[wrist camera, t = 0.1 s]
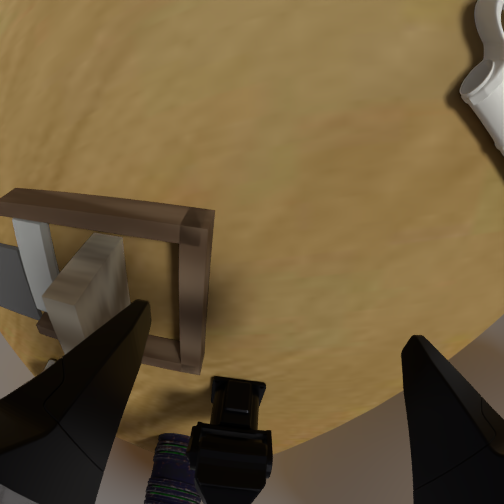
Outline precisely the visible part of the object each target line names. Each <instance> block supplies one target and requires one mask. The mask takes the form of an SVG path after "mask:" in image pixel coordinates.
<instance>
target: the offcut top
mask: <svg viewBox="0 0 504 504" xmlns="http://www.w3.org/2000/svg"><path fill="white" fill-rule="evenodd" d="M12 221H13V226H14V230H15V235H16V239H17V243H18V247H19V251H20V255H21V259H22V263H23V266H24V270H25V273H26V276H27V280H28V283H29V286H30V289H31V292H32V295H33V298H34V301H35V304H36V307H37V309H39V310H42V311H45V312H47V310H46V307H45V305H44V302H43V299H42V295H43V294H44V293H45V291H46V290H47V289H48V287H49V286H50V285H51V283H52V282H53V281H54V280H55V278H56V277H57V276H58V275H57V271H56V266H55V262H54V257H53V253H52V248H51V243H50V237H49V232H48V226H47V223H44V222H37V221H31V220H25V219H18V218H13V219H12Z"/></svg>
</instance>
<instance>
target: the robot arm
mask: <svg viewBox="0 0 504 504" xmlns="http://www.w3.org/2000/svg"><path fill="white" fill-rule="evenodd" d="M150 326H151V312H150V304H149V302H148V301H144V300H139V299H137V300H135V301H134V302H132V303H131V304H130V305H128V306H127V307H126V308H124V309H123V310H122V311H120V312H119V313H118V314H117V315H115V316H114V317H113V318H111V319H110V320H109V321H107V322H106V323H105V324H104V325H102V326H101V327H100V328H98V329H97V330H96V331H94V332H93V333H92V334H91V335H89V336H88V337H87V338H85V339H84V340H83V341H82V342H80V343H79V344H78V345H77V346H75V347H74V348H73V349H71V350H70V351H69V352H68V353H66V354H65V355H64V356H63V357H62V358H63V359H62V358H60V359H59V360H57V361H56V362H55V363H54V364H52V365H51V366H50V367H48V368H47V369H46V370H45V371H43V372H42V373H40V374H39V375H37V376H36V377H34V378H33V379H32V380H30V381H28V382H27V383H25V384H24V385H22V386H21V387H19V388H18V389H16V390H14V391H13V392H11V393H10V394H8V395H7V396H5V397H3V398H2V399H0V504H95V501H96V497H97V494H98V490H99V487H100V483H101V480H102V476H103V472H104V470H105V467H106V463H107V460H108V457H109V454H110V451H111V448H112V444H113V442H114V439H115V436H116V433H117V430H118V427H119V424H120V421H121V418H122V415H123V412H124V409H125V407H126V404H127V401H128V398H129V395H130V393H131V390H132V387H133V385H134V382H135V379H136V376H137V374H138V371H139V368H140V365H141V361H142V358H143V354H144V350H145V346H146V342H147V338H148V334H149V330H150ZM401 359H402V373H403V389H404V398H405V405H406V412H407V420H408V428H409V437H410V448H411V459H412V473H413V490H414V491H413V499H414V504H504V419H503V418H502V417H501V416H500V415H499V414H498V413H497V412H496V411H495V410H494V409H492V407H491V406H490V405H489V404H488V403H487V402H486V401H485V400H484V398H483V397H481V395H480V394H479V393H478V392H477V391H476V390H475V389H474V388H473V387H472V386H471V384H470V383H469V382H468V381H467V380H466V379H465V378H464V377H463V376H462V375H461V374H460V373H459V372H458V371H457V370H456V369H455V368H454V366H453V365H452V364H451V363H450V362H448V360H447V359H446V358H445V357H444V356H443V355H442V354H441V353H440V352H439V351H438V350H437V349H436V348H435V347H434V346H433V345H432V344H431V343H430V342H429V341H428V340H427V339H426V338H425V337H424V336H422V335H413V336H411V338H410V339H409V341H408V342H407V344H406V345H405V347H404V348H403V350H402V353H401ZM265 389H266V384H265V383H260V382H251V381H243V380H236V379H229V378H222V377H214V378H213V384H212V395H211V403H213V407H212V414H211V420H210V424H206V423H203V422H198V424H197V425H196V426H192V431H191V436H190V440H189V443H188V447H187V450H186V454H185V456H186V457H187V459H188V460H189V464H190V469H191V470H195V488H196V490H197V492H198V494H199V496H200V498H201V500H202V502H203V504H251V503H252V502H253V501H254V499H255V498H256V497H257V496H258V494H259V493H260V492H261V490H262V489H263V488H264V486H265V484H266V478H269V477H270V474H271V470H272V462H273V453H272V437H271V430H266V431H262V430H257V429H258V411H259V406H260V403H261V400H262V398H263V395H264V392H265Z"/></svg>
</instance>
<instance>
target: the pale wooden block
mask: <svg viewBox="0 0 504 504" xmlns="http://www.w3.org/2000/svg"><path fill="white" fill-rule="evenodd" d="M42 299H43V302H44V305H45V307H46V310H47V313H48V315H49V318H50V320H51V323H52V325H53V328H54V330H55V333H56V335H57V337H58V340H59V342H60V344H61V347H62V349H63V351H64V353H65V354H66V353H68V352H69V351H70V350H71V349H73V348H74V347H75V346H77V345H78V344H79V343H80V342H82V341H83V340H84V339H85V338H87V337H88V336H89V335H91V334H92V333H93V332H94V331H96V330H97V329H98V328H100V327H101V326H102V325H104V324H105V323H106V322H107V321H109V320H110V319H111V318H113V317H114V316H115V315H117V314H118V313H119V312H120V311H122V310H123V309H124V308H126V307H127V306H128V305H130V304H131V303H130V296H129V289H128V281H127V273H126V265H125V256H124V246H123V237H119V236H112V235H106V234H100V233H93V234H92V235H91V237H90V238H89V239H88V240H87V241H86V242H85V243H84V245H83V246H82V247H81V248H80V249H79V250H78V252H77V253H76V254H75V255H74V256H73V257H72V259H71V260H70V261H69V262H68V263H67V265H66V266H65V267H64V268H63V270H62V271H61V272H60V273H59V275H58V276H57V277H56V278H55V280H54V281H53V282H52V283H51V285H50V286H49V287H48V289H47V290H46V291H45V293H44V294H43V295H42Z"/></svg>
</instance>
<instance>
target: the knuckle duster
mask: <svg viewBox="0 0 504 504" xmlns="http://www.w3.org/2000/svg"><path fill="white" fill-rule="evenodd" d="M502 9H503V10H504V0H478V1H477V3H476V5H475V10H474V18H475V24H476V28H477V31H478V34H479V36H480V38H481V40H482V42H483V45H484V58H483V60H482V61H481V62H480V63H479V64H478V65H476V66H475V67H474V68H473V69H472V70H471V72H470V73H469V74H468V75H467V77H466V78H465V79H464V81H463V83H462V85H461V87H460V94H461V98H462V99H463V101H464V102H465V103H468V104H469V106H470V107H471V108H472V110H473V111H474V112H475V114H476V115H477V117H478V118H479V119H480V121H481V122H482V124H483V125H484V127H485V128H486V130H487V131H488V132H489V134H490V136H491V137H492V139H493V140H494V142H495V146H496V148H497V149H498V150H500V151H501V153H502V155H503V156H504V32H503V29H502V25H501V11H502Z"/></svg>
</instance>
